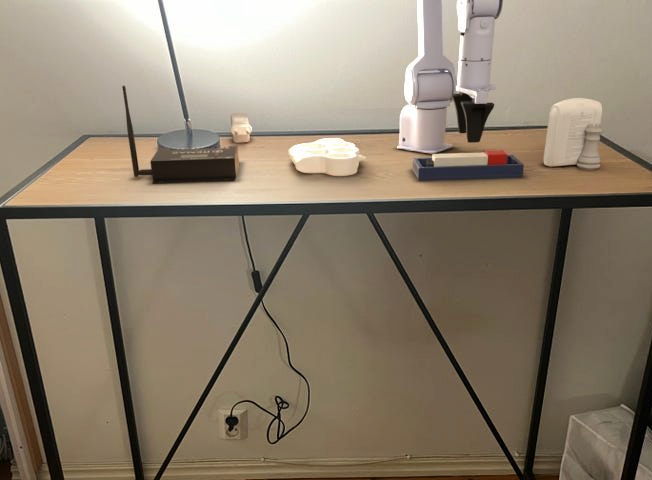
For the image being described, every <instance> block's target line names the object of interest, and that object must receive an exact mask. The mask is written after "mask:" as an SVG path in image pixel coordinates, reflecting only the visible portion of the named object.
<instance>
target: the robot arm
mask: <svg viewBox="0 0 652 480" xmlns="http://www.w3.org/2000/svg"><path fill="white" fill-rule="evenodd" d="M416 2H417V4H416V6H417V35H418V36H417V37H418V38H417V39H418V42H417V43H418V55H417V57H416V58H415V59H414V60H413V61H412V62H411V63H409V65H408V66H407V68H406V69H405V81H404V87H403V88H404V97H405V101H406V102H407V103H408V104H406V105H405V106H404V107H403V108H402V110H401V112H400V115H399V135H398V136H399V137H398V138H399V139H398V145H397V146H396V148H397V149H399V150H404V151H411V152H418V153H425V154H430V155H432V154H439V153H440V152H442V151H446V150H448V149H451V148H453V144H448V143H446V129H447V111H448V107H450V106H451V103H452V102H453V106H454V108H455V113H456V120H457V121H456V122H457V129H458V133H459V134H466V141H467V143H472V144H473V143H480V142H481V139H482V136H483V132H484V130H485V126H486V123H487V120H488V119H489V116H490V115H491V112H492V111H493V109H494V108H495V103H494V102H488V96H489V92H490V91H493V90H496V87H497V86H496V84H494V83H490V80H491V79H490V78H491V69H492V58H493V45H494V37H495V26H496V20H497V19H499V17H500V15H501V13H502V10H503V6H504V0H456V13H457V18H458V19H457V20H458V21H457V22H458V23H457V27H458V31H459V32H460V39H459V50H458V51H459V53H458V64H457V65H458V66H457V67H458V68H457V76H456V70H455V65H454V63H453V62H452V61H451V60H450V59H449V58H448V57H446V56H445V55H444V52H443V51H444V48H443V47H444V46H443V44H444V42H443V1H442V0H416ZM433 71H434V72H433ZM421 72H422V73H421ZM458 92H459V93H458Z"/></svg>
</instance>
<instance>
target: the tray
mask: <svg viewBox="0 0 652 480" xmlns="http://www.w3.org/2000/svg"><path fill="white" fill-rule="evenodd" d="M427 160H432V157H413V158H412V172H413V174H414V176H415V178H416V179H417V181H418V182H428V181H429V182H430V181H455V180H460V181H461V180H487V179H490V180H491V179H514V178H515V179H516V178H517V179H518V178H519V179H520V178H521V179H522V178H523V176H524V168H525V164H524V163H523V162H521V161H520V159H518V158H517V157H516V156H515V155H514V154H507V163H506V164H499V165H468V166H437V167H426V162H427Z"/></svg>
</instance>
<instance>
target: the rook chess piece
mask: <svg viewBox="0 0 652 480" xmlns="http://www.w3.org/2000/svg"><path fill="white" fill-rule="evenodd" d="M602 127H603V124H601V123H600V124H599V126H598V124H595V126H593V124H588V127H587V128H586V129H585V131H586V133H587V136H586V137H585V139H586V142H585V146H584V149H583V152H582V153H581V156H580V157H578V159H577V160H578V161H579V162H578V163H577V164H576V166H577V168H578V169H581V170H585V171H596V170H598V169H600V167H601V164H600V163H601V161H602V159H601V157H600V152H599V143H600V140H601V137H600V136H601V134H602V133H603V132H604V130H603V128H602Z"/></svg>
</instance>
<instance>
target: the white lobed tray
mask: <svg viewBox="0 0 652 480" xmlns="http://www.w3.org/2000/svg"><path fill="white" fill-rule="evenodd" d="M360 152H361V150H360V148H359V147H357V146H356V144H354V143H353V142H347V141H345V140H344V139H343V138H338V137H328V138H321V139H317V140H316V141H314V142H307V143H300V144H295V145H293V146H292V147H290V148H289V149H288V157H290V158H291V162H292V163H293V165H294V166H295V169H296V170H297V171H299V172H301V173H302V174H303V173H304V174H327V175H329V176H335V177H347V176H353V175H356V174H357V172H358V168H359V166H360V162H361V161H363V160H365V159H367V157H366V156H364V155H362V154H360Z"/></svg>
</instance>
